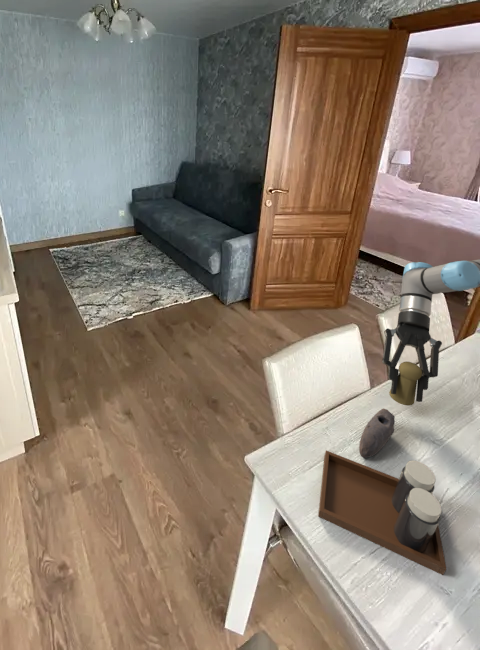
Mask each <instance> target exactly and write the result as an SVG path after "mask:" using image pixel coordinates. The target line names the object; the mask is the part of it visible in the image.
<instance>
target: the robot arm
mask: <svg viewBox="0 0 480 650" xmlns="http://www.w3.org/2000/svg"><path fill="white" fill-rule="evenodd" d="M401 278H402V282H401V283H402V284H401V289H400V291H401V292H400V301H399V307H398V308H399V309H398V310H399V312H398V318H397V325H396V327H395V328H394V329H393V328H392V329H391V328H385V329H384V332H383V333H384V337H385V340H384V347H383V352H382V360H381V363H382V364H383V365H385V366H387V368H388V375H387V379H388V380H389V381H391V387H390V390H391V394H396V391H397V382H398V375H399V373H400V372H399V368H396V367H397V366H398V363H399V362H400V359H401V357H402V355H403V353H404V350H405V348H406V347H411V348H414V349H415V352H416V355H417V360H418V366H419V367H420V368H421V370H422V376H421V378H420V379H418V380H417V387H416V394H415V402H417V403H422V402H423V398H424V396H423V395H424V391H427V390H428V389H429V382H430V381H429V380H430V378H433V379H434V378H437V377H438V376H439V359H440V349H441V347H442V345H443V342H442V341H441V340H436V339H434V338H433V337H432V336H431V333H430V326H431V318H430V316H431V314H432V302H433V295H438V294H444V293H452V292H463V291H468V290H472V289H476V288H480V259H474V260H473V259H472V260H455V261H451V262H448V263H444V264H440V265H436V266H433V265H432V264H430V263H427V262H422V261H418V262H415V261H412V262H409V263H407V264H405V265H404V267H403V274H402V277H401ZM395 335H396V336H397V338H398V340H399V343H398V345H397V347H396V349H395V352H394V354H393V356H392V359H391V360H390V357H391V349H392V343H393V337H395ZM428 342H429V347H431V348H430V359H429V366H428V362H427V361H428V360H427V357H426V353H425V345H426V344H427V343H428Z"/></svg>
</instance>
